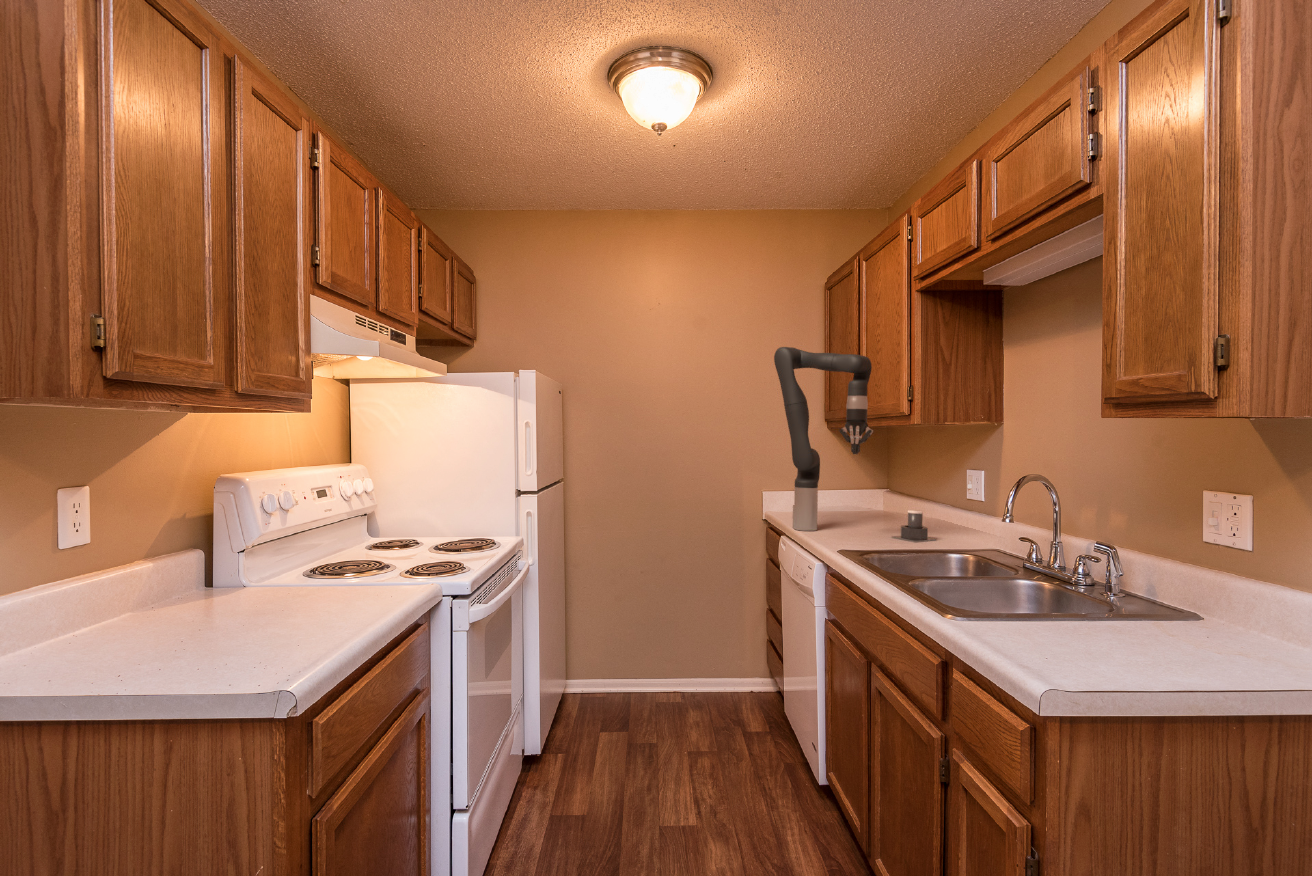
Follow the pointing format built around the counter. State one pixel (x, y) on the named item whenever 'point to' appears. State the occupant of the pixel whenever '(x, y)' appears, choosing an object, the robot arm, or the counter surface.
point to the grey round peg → (915, 519)
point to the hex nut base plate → (914, 534)
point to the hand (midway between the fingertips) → (855, 453)
